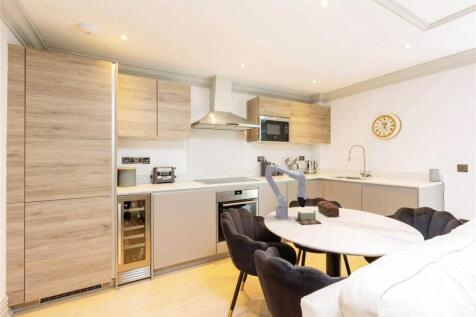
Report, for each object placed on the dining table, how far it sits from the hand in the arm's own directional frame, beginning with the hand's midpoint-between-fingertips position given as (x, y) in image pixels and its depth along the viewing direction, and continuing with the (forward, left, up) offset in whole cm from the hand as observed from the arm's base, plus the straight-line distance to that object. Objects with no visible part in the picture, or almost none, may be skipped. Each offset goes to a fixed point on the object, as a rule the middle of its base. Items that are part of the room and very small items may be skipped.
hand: (301, 206), depth 179 cm
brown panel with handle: (+1, -9, -9) cm, 13 cm away
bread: (+27, +8, -10) cm, 30 cm away
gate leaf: (+1, -7, -8) cm, 11 cm away
